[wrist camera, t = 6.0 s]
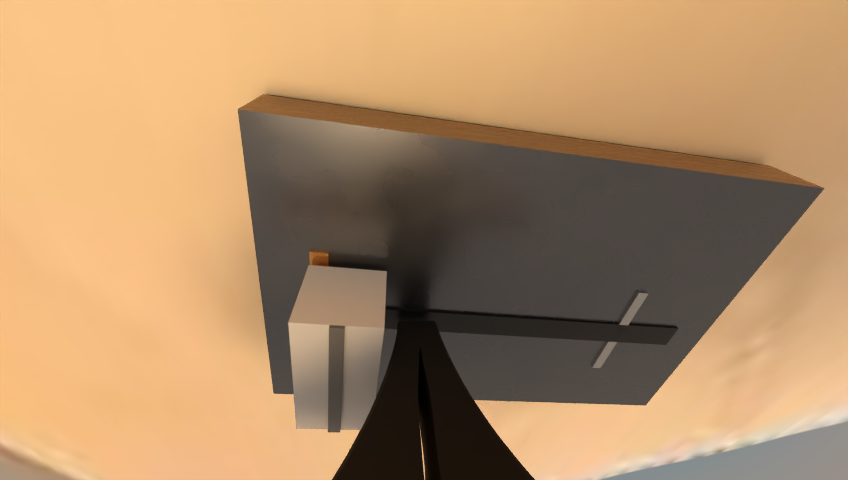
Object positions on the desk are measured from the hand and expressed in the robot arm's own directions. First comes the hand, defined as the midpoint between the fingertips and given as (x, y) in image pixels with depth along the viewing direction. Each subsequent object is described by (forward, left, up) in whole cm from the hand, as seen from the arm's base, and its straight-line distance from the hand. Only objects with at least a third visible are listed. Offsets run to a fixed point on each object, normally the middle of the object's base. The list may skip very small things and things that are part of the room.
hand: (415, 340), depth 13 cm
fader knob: (+2, 0, -1) cm, 3 cm away
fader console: (-4, -1, -3) cm, 5 cm away
